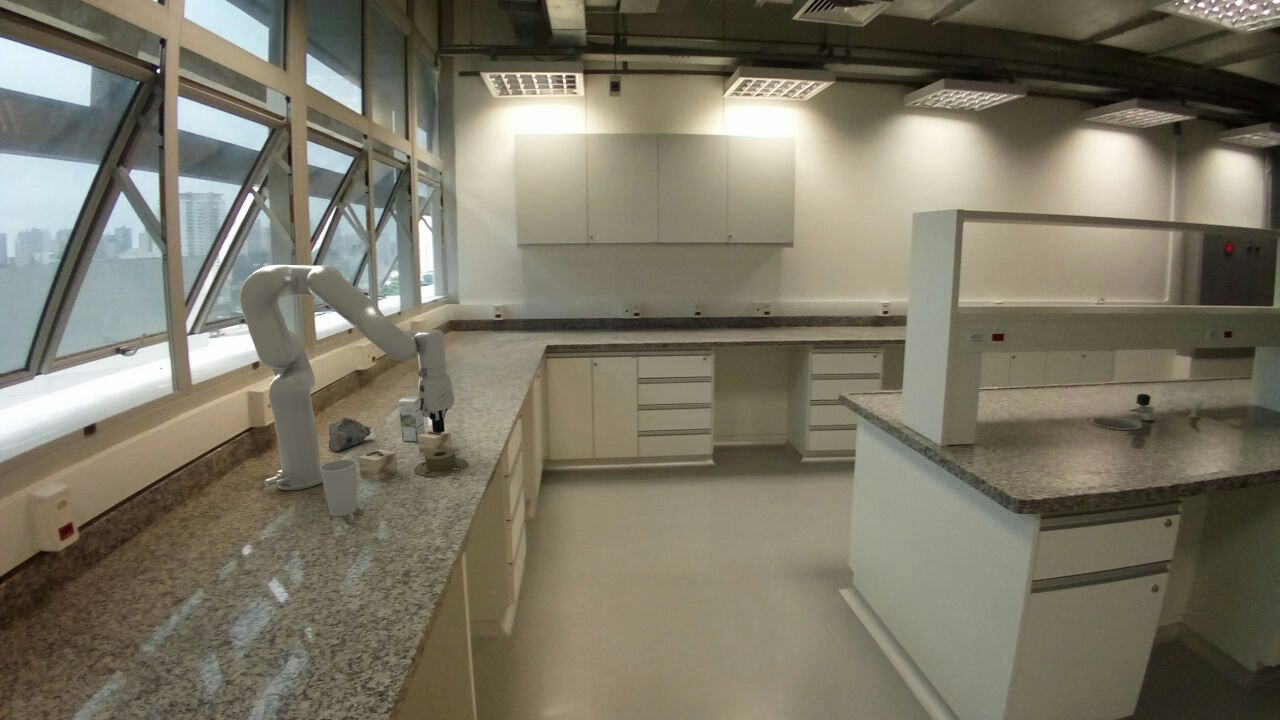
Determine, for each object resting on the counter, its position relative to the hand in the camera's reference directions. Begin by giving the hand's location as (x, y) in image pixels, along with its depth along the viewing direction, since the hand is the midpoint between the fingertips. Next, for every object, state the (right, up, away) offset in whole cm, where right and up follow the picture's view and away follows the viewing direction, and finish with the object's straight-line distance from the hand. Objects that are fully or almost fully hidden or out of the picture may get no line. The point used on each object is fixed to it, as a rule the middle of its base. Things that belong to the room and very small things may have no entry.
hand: (438, 431), depth 176 cm
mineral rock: (-35, -7, +19) cm, 41 cm away
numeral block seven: (-15, -12, -6) cm, 20 cm away
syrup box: (-17, -6, +24) cm, 30 cm away
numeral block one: (-5, -8, +12) cm, 15 cm away
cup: (-13, -16, -30) cm, 37 cm away
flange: (+1, -11, -2) cm, 11 cm away
